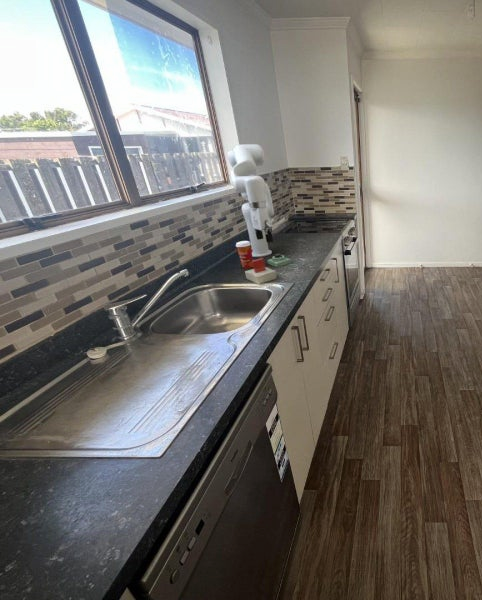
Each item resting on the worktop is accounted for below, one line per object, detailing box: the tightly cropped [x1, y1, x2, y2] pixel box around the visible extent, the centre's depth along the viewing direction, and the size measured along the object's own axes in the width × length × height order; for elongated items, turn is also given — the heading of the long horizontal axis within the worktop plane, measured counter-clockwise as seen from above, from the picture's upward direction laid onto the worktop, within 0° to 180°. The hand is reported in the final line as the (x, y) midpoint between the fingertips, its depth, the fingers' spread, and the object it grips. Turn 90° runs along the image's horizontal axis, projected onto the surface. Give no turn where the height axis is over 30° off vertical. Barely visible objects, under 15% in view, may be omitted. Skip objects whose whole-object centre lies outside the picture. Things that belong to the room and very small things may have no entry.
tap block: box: [244, 266, 278, 285], centre depth 167 cm, size 12×10×4 cm
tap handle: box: [252, 257, 267, 273], centre depth 165 cm, size 6×2×6 cm, turn 141°
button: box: [274, 253, 282, 258], centre depth 187 cm, size 4×4×2 cm
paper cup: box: [235, 240, 254, 269], centre depth 182 cm, size 8×8×14 cm
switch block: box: [266, 254, 292, 268], centre depth 188 cm, size 10×9×4 cm
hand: (265, 240), depth 162 cm, fingers open, 9 cm apart
